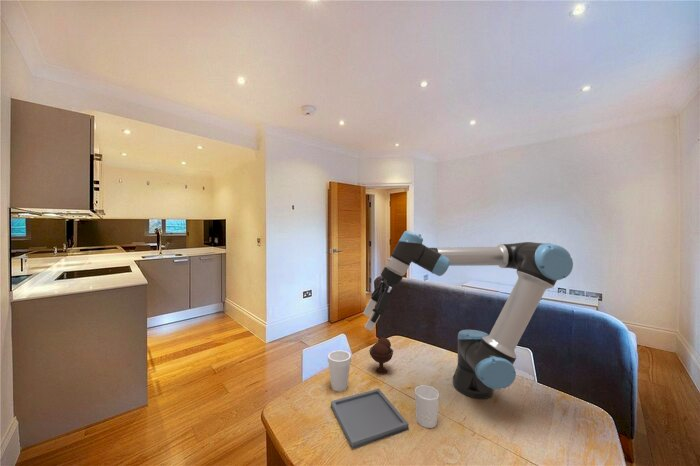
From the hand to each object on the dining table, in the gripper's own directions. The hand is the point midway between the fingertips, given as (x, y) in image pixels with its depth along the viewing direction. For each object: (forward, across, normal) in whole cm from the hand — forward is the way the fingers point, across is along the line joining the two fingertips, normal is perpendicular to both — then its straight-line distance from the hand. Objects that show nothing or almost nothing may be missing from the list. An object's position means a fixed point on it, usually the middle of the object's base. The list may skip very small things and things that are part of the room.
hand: (366, 321), depth 96 cm
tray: (+27, +7, +14) cm, 32 cm away
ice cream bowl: (+24, -23, +22) cm, 40 cm away
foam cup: (+33, -10, +5) cm, 35 cm away
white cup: (+18, +8, +32) cm, 38 cm away
